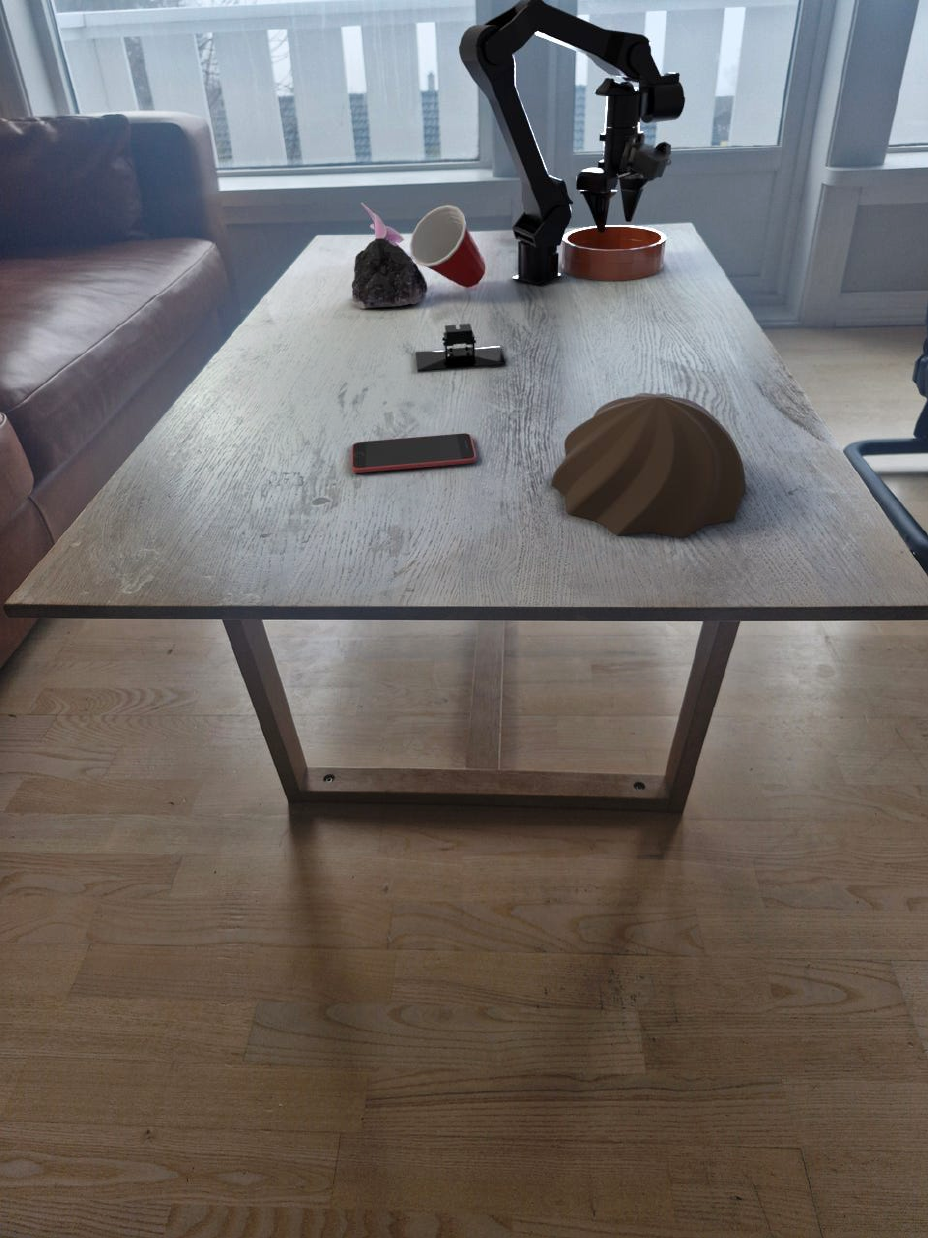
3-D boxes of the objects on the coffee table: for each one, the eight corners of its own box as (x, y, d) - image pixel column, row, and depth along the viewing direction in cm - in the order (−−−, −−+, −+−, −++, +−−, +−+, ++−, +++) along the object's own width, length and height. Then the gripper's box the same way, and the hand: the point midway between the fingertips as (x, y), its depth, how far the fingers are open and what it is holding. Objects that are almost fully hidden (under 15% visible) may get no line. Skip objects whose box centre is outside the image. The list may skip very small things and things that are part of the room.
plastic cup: (498, 232, 138) (463, 192, 128) (499, 289, 136) (464, 253, 126) (444, 252, 144) (407, 215, 133) (445, 308, 142) (408, 274, 132)
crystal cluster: (407, 319, 131) (408, 254, 125) (333, 305, 134) (332, 241, 128) (437, 300, 141) (440, 240, 135) (368, 289, 144) (368, 229, 139)
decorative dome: (756, 543, 74) (778, 445, 68) (543, 531, 77) (545, 435, 71) (737, 449, 89) (754, 361, 82) (559, 442, 92) (562, 356, 86)
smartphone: (351, 441, 92) (470, 431, 93) (352, 446, 93) (470, 436, 94) (350, 469, 87) (477, 458, 88) (351, 474, 87) (477, 463, 88)
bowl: (542, 270, 147) (543, 241, 144) (596, 248, 158) (598, 221, 155) (629, 286, 137) (631, 255, 134) (680, 261, 148) (684, 232, 145)
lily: (403, 273, 153) (419, 221, 150) (344, 250, 151) (359, 197, 148) (401, 277, 164) (416, 229, 162) (346, 255, 162) (360, 206, 159)
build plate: (499, 349, 117) (499, 316, 114) (506, 367, 111) (506, 334, 108) (415, 354, 116) (413, 322, 113) (417, 373, 110) (415, 339, 107)
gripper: (635, 136, 124) (627, 243, 134) (692, 120, 135) (680, 221, 145) (575, 132, 130) (572, 235, 140) (634, 117, 141) (627, 214, 150)
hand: (615, 226), depth 143 cm, fingers open, 9 cm apart
